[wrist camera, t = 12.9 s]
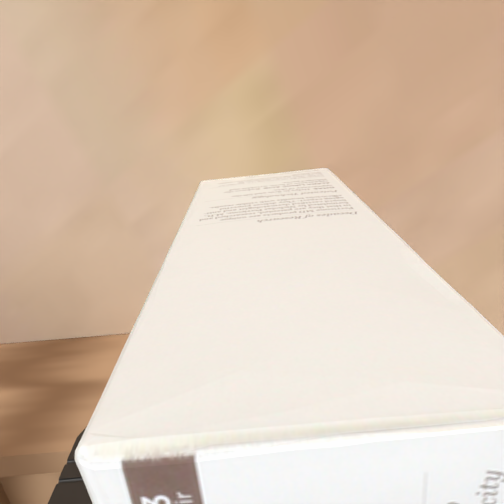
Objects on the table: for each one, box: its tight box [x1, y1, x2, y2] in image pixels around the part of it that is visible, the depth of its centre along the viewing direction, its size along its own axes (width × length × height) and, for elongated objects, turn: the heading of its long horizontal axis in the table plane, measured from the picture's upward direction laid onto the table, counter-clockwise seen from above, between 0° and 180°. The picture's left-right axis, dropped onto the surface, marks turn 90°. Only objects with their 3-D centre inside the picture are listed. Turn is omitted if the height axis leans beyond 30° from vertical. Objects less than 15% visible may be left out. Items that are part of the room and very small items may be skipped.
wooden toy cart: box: [0, 334, 130, 504], centre depth 20 cm, size 16×14×7 cm
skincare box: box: [75, 168, 504, 504], centre depth 12 cm, size 8×6×15 cm
